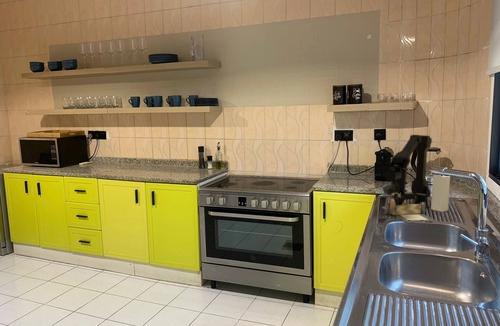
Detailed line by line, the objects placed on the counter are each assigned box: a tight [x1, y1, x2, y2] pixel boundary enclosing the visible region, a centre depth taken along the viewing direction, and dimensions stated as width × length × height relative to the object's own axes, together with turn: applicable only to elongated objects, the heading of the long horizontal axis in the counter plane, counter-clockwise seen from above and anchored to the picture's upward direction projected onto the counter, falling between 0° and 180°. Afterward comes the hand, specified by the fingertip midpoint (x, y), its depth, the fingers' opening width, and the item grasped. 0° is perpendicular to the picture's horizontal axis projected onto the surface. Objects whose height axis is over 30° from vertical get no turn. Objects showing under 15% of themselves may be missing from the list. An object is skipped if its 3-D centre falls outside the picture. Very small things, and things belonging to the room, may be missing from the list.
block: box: [390, 198, 407, 208], centre depth 216 cm, size 6×6×4 cm
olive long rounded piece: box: [384, 202, 426, 216], centre depth 205 cm, size 21×2×6 cm, turn 93°
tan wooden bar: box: [391, 203, 421, 216], centre depth 203 cm, size 15×2×4 cm, turn 103°
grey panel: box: [381, 206, 438, 224], centre depth 205 cm, size 16×30×1 cm, turn 3°
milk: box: [430, 174, 451, 213], centre depth 212 cm, size 6×6×22 cm
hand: (397, 209), depth 205 cm, fingers closed
